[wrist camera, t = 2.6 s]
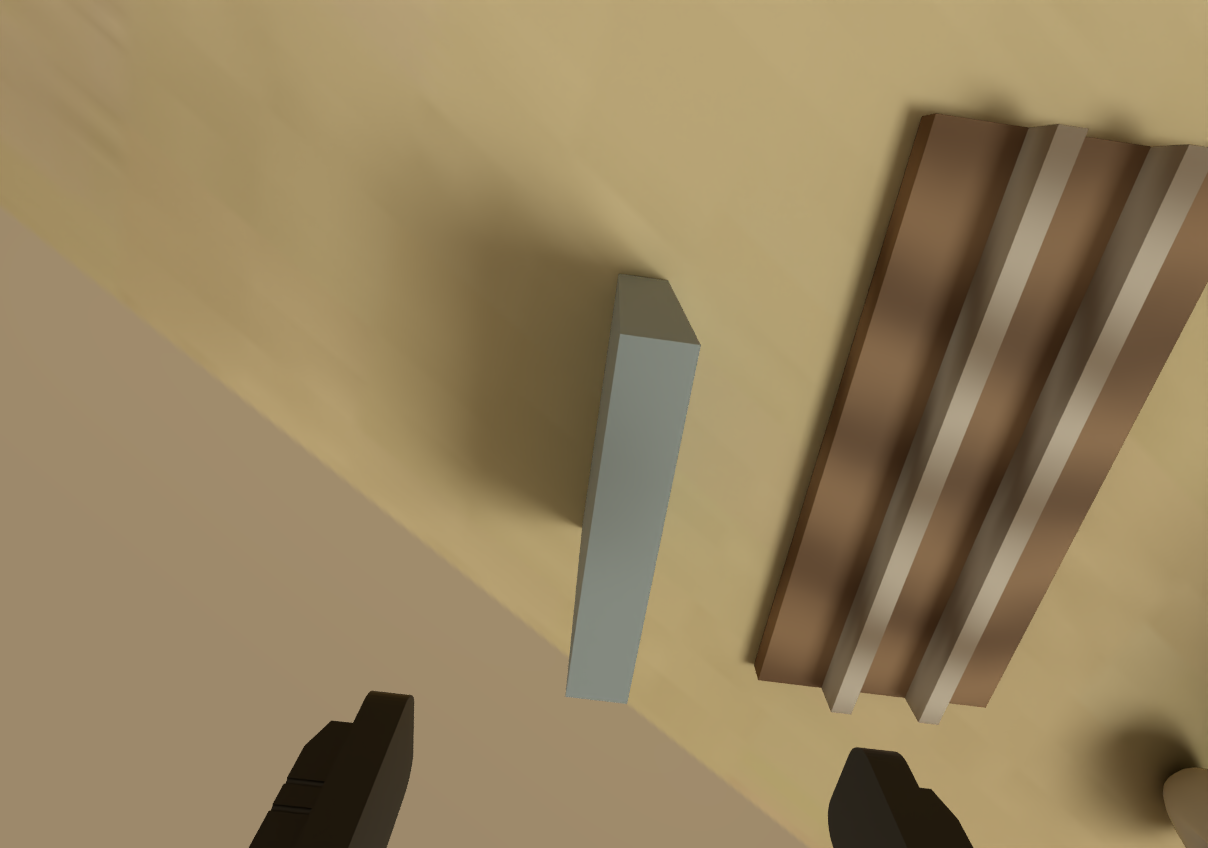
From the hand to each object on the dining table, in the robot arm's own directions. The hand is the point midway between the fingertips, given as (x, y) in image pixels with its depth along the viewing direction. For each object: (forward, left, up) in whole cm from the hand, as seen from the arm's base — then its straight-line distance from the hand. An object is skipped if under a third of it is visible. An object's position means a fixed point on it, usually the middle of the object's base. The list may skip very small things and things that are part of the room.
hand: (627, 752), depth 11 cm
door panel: (0, 0, -17) cm, 17 cm away
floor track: (0, +15, -16) cm, 22 cm away
